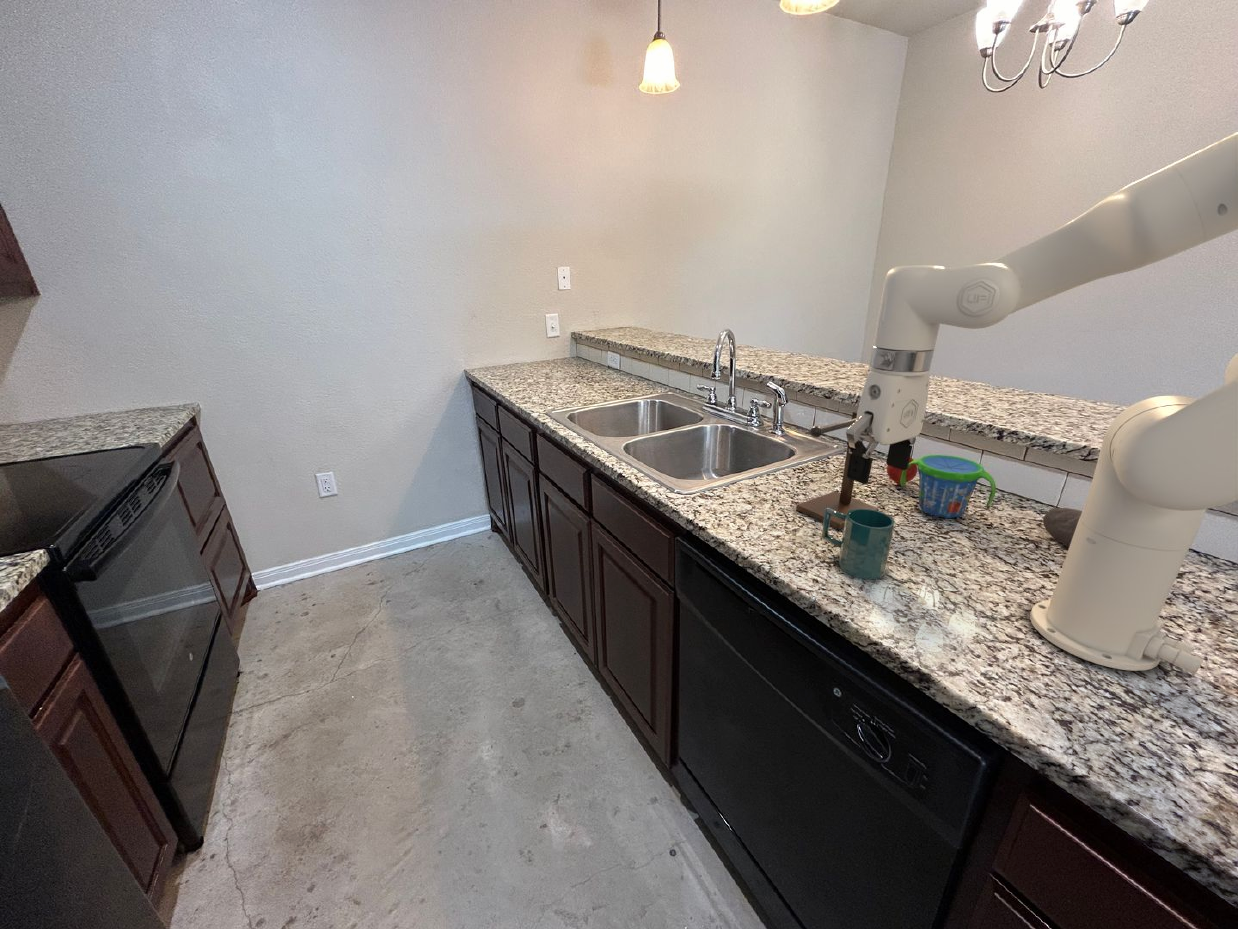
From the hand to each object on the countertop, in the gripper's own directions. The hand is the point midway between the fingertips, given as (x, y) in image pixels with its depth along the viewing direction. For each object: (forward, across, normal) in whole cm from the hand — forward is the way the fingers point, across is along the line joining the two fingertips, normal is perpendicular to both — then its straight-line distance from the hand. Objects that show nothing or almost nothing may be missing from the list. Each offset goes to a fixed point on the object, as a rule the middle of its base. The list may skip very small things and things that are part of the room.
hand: (877, 473), depth 76 cm
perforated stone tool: (+16, +35, -18) cm, 42 cm away
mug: (+16, 0, +2) cm, 16 cm away
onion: (+16, +36, +16) cm, 43 cm away
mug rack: (+16, +11, +14) cm, 24 cm away
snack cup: (+16, +31, +4) cm, 35 cm away
